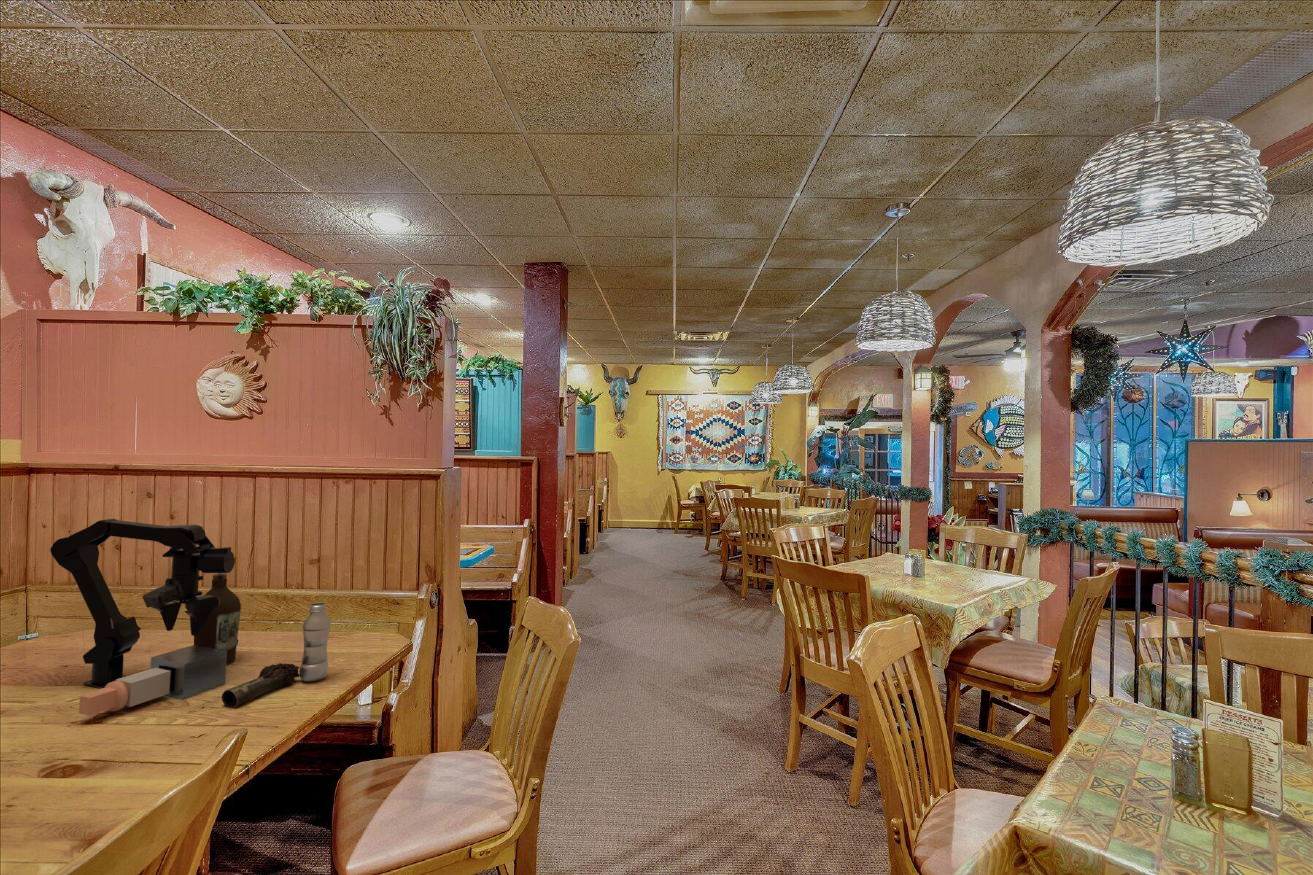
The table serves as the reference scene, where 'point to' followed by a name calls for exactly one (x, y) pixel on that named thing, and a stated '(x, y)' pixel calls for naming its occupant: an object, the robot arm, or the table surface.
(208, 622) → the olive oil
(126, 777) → the table surface
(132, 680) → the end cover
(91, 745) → the table surface
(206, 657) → the housing
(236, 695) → the metal pipe
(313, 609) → the plastic bottle
